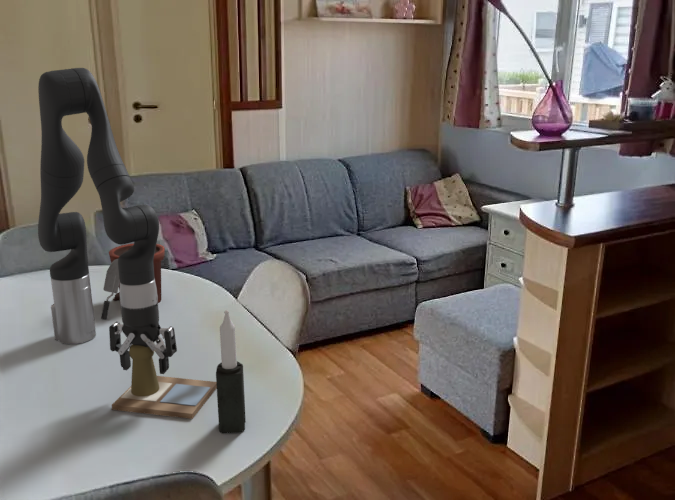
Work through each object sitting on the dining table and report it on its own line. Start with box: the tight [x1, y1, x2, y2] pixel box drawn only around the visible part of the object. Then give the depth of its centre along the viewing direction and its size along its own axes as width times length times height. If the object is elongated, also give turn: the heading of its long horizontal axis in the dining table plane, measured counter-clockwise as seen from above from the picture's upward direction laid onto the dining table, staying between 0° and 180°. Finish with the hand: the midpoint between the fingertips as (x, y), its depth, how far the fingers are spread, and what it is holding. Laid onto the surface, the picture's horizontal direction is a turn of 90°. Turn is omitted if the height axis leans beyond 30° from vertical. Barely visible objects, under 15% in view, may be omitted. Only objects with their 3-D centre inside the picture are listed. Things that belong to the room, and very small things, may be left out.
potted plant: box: [100, 242, 166, 320], centre depth 198 cm, size 18×22×25 cm
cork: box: [128, 344, 160, 396], centre depth 147 cm, size 6×6×11 cm
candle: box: [215, 309, 247, 434], centre depth 133 cm, size 5×5×25 cm
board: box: [111, 375, 217, 420], centre depth 148 cm, size 18×14×1 cm
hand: (145, 370), depth 147 cm, fingers open, 8 cm apart
